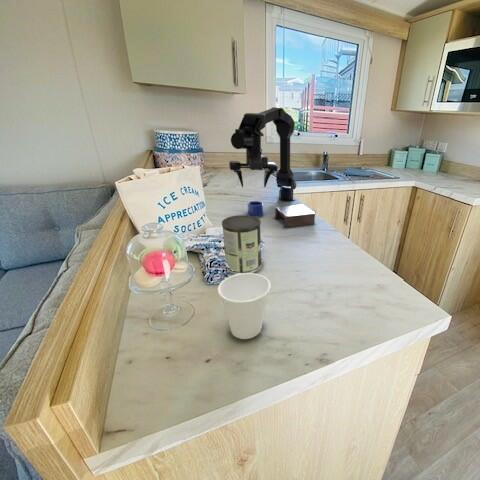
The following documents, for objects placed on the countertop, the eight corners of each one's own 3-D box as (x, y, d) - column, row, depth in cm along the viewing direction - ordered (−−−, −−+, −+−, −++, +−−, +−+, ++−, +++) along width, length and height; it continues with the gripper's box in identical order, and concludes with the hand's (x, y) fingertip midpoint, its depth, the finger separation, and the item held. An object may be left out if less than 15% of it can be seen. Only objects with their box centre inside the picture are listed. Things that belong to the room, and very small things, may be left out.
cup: (227, 313, 62) (224, 272, 57) (272, 314, 63) (272, 272, 58) (216, 348, 53) (211, 301, 48) (268, 347, 54) (268, 302, 49)
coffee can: (241, 254, 87) (239, 212, 81) (268, 263, 83) (268, 219, 77) (217, 268, 78) (213, 222, 72) (246, 279, 75) (244, 231, 69)
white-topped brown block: (302, 215, 125) (302, 204, 123) (314, 224, 115) (315, 213, 113) (275, 218, 119) (275, 207, 117) (285, 228, 109) (285, 216, 107)
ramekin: (260, 211, 125) (260, 200, 123) (264, 215, 120) (264, 205, 118) (246, 212, 122) (245, 201, 120) (250, 217, 117) (249, 206, 115)
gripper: (230, 149, 99) (232, 191, 105) (281, 151, 106) (280, 191, 112) (228, 146, 108) (229, 185, 114) (274, 148, 115) (274, 185, 121)
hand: (253, 187), depth 115 cm, fingers open, 9 cm apart
